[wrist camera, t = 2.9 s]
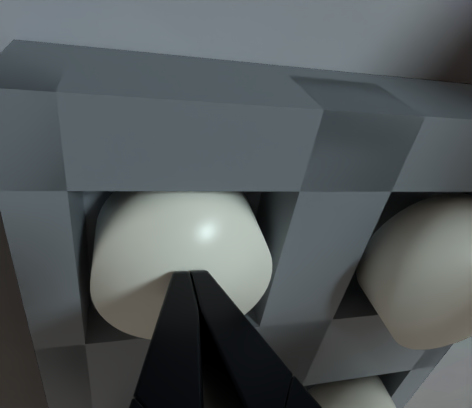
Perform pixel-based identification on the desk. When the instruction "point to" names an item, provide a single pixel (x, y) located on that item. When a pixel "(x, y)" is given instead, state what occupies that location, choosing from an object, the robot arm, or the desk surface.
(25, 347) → the desk surface
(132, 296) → the button
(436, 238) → the button
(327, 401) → the button
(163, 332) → the robot arm
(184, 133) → the button board
